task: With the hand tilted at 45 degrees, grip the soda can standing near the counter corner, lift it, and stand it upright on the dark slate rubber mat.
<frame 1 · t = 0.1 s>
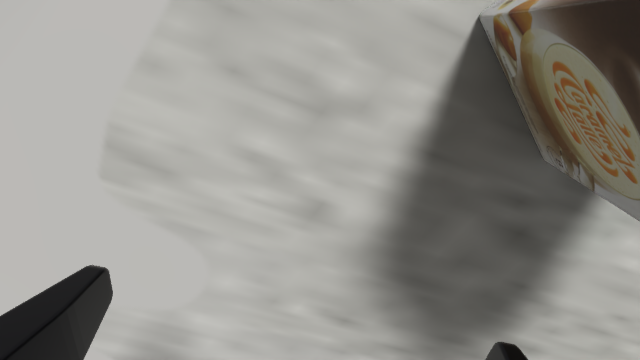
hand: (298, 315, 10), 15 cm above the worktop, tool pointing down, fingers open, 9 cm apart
coffee box: (565, 61, 22), on the worktop
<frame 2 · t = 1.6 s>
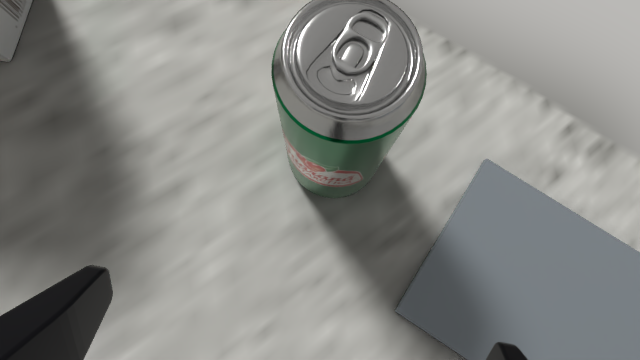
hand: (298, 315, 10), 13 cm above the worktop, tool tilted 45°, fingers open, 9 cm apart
slate mat: (552, 304, 23), on the worktop
soda can: (332, 157, 25), on the worktop
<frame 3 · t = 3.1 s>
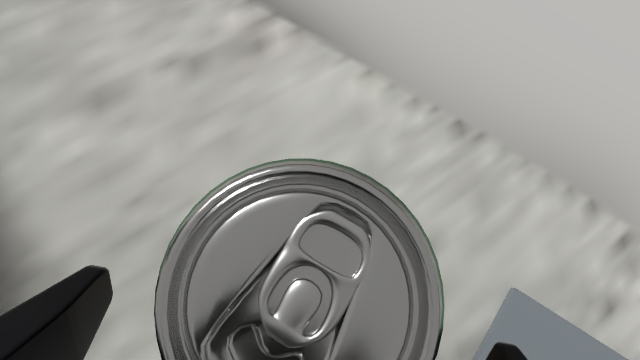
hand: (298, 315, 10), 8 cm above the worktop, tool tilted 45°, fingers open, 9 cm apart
soda can: (306, 284, 18), on the worktop
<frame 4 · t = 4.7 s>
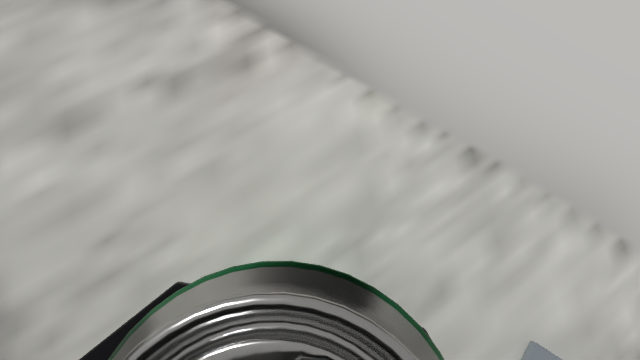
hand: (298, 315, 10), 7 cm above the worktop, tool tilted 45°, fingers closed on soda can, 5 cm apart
soda can: (298, 336, 16), on the worktop, touching gripper
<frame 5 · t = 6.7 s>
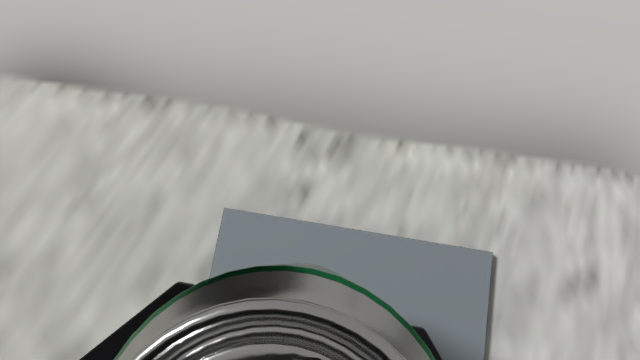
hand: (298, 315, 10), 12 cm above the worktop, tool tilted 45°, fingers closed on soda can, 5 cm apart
slate mat: (342, 329, 21), on the worktop
soda can: (300, 329, 16), point 5 cm above the worktop, touching gripper
when the fingers open (8 cm above the worktop, at t = 8.7 s): soda can stays where it is, resting on slate mat.
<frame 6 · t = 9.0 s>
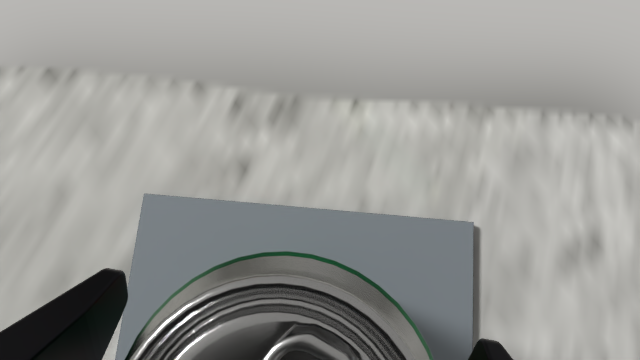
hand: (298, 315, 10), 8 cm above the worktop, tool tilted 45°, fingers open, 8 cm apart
slate mat: (297, 330, 17), on the worktop
soda can: (302, 331, 17), resting on slate mat
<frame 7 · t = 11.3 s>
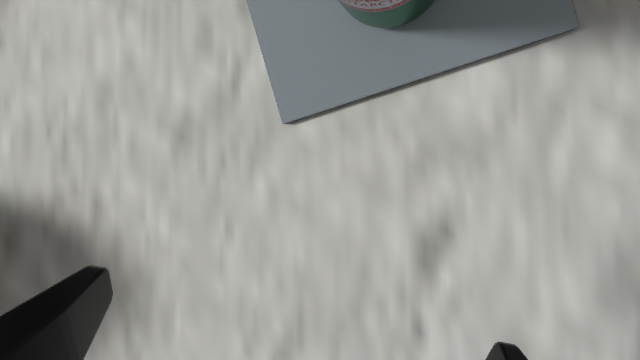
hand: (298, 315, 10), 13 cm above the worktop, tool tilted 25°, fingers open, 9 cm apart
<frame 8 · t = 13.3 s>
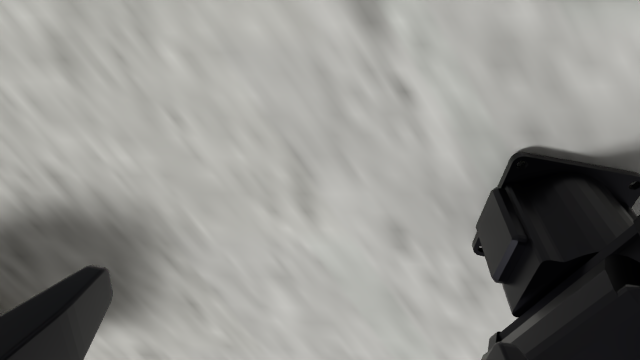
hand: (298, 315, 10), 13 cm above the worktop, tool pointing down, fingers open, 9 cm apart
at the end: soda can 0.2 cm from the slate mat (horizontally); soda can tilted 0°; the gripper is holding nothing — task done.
